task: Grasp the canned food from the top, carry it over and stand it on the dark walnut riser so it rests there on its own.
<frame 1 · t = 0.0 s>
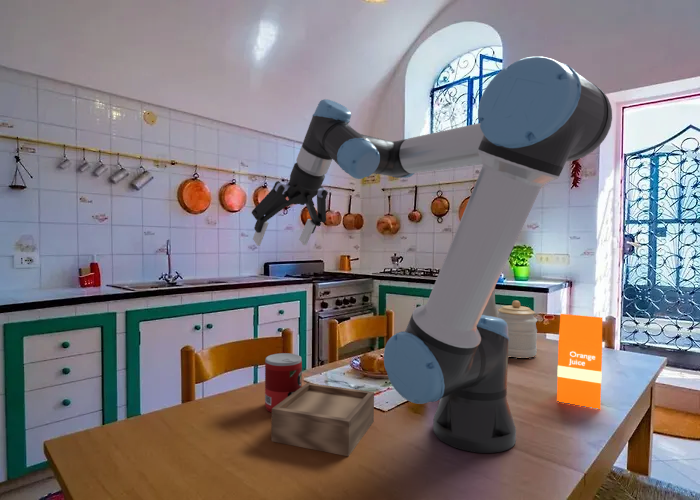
hand: (280, 242, 108), 36 cm above the table, tool tilted 35°, fingers open, 13 cm apart
walnut riser: (325, 430, 83), on the table
canned food: (283, 408, 94), on the table
orange juice: (578, 401, 100), on the table
jar: (515, 354, 140), on the table
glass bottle: (476, 385, 110), on the table
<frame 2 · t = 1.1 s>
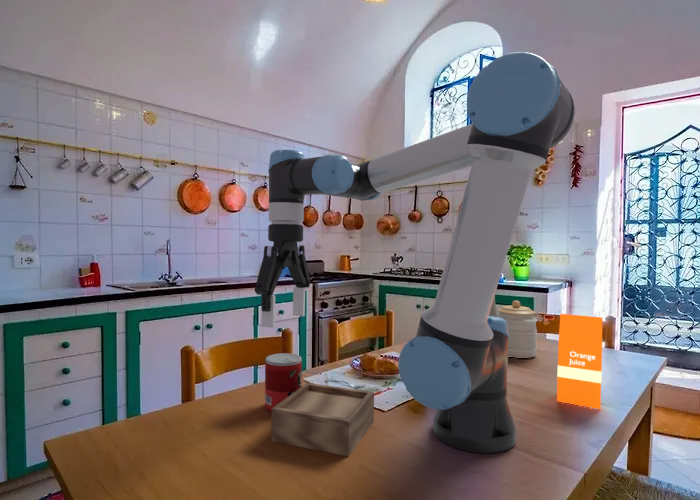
hand: (284, 321, 93), 19 cm above the table, tool pointing down, fingers open, 13 cm apart
nothing on the table moved.
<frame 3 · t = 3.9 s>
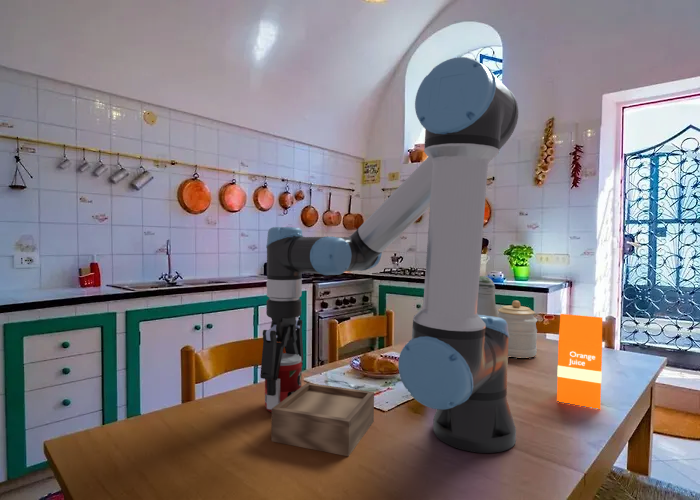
hand: (283, 401, 94), 1 cm above the table, tool pointing down, fingers closed on canned food, 8 cm apart
canned food: (282, 408, 94), on the table, touching gripper
everything else where it was.
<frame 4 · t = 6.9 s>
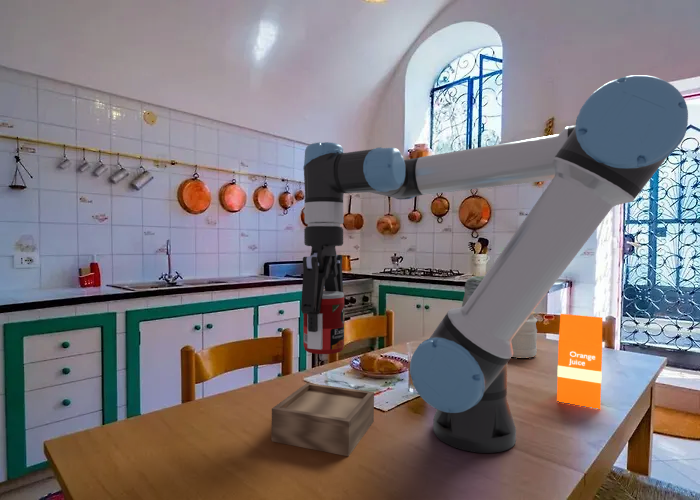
hand: (324, 343, 83), 17 cm above the table, tool pointing down, fingers closed on canned food, 8 cm apart
canned food: (323, 350, 83), point 15 cm above the table, touching gripper
everything else where it was.
when the fingers open (7 cm above the table, at t = 10.1 s): canned food stays where it is, resting on walnut riser.
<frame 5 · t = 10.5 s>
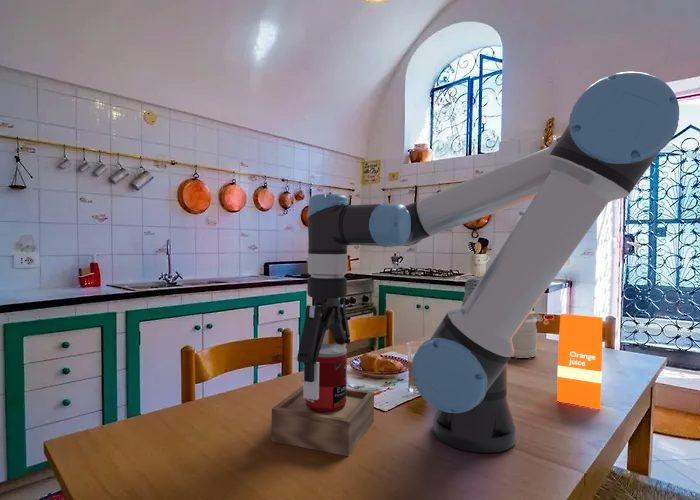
hand: (325, 386, 82), 9 cm above the table, tool pointing down, fingers open, 13 cm apart
canned food: (325, 406, 82), point 5 cm above the table, touching walnut riser
everything else where it was.
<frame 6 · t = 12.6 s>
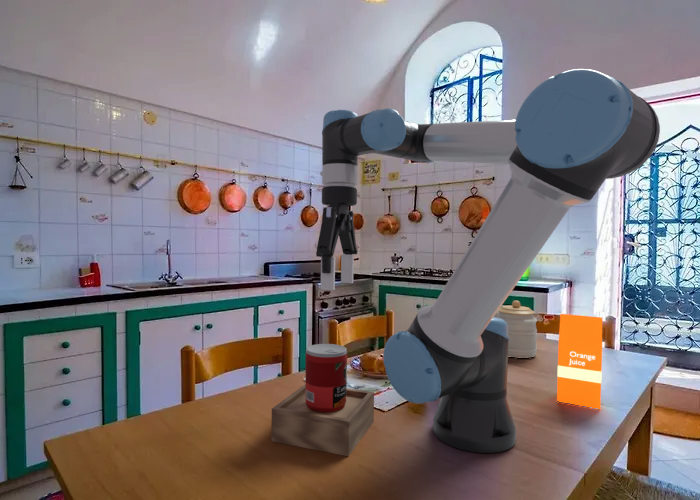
hand: (338, 286, 92), 27 cm above the table, tool pointing down, fingers open, 13 cm apart
nothing on the table moved.
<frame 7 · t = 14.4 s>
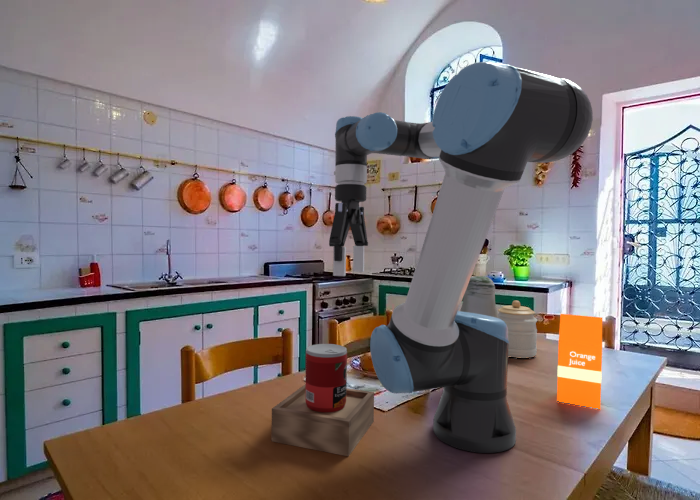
hand: (349, 273, 103), 29 cm above the table, tool pointing down, fingers open, 13 cm apart
nothing on the table moved.
at the end: canned food inside the target area on the walnut riser (0.0 cm from its centre), point 4.8 cm above the walnut riser's base; canned food tilted 0°; the gripper is holding nothing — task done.
